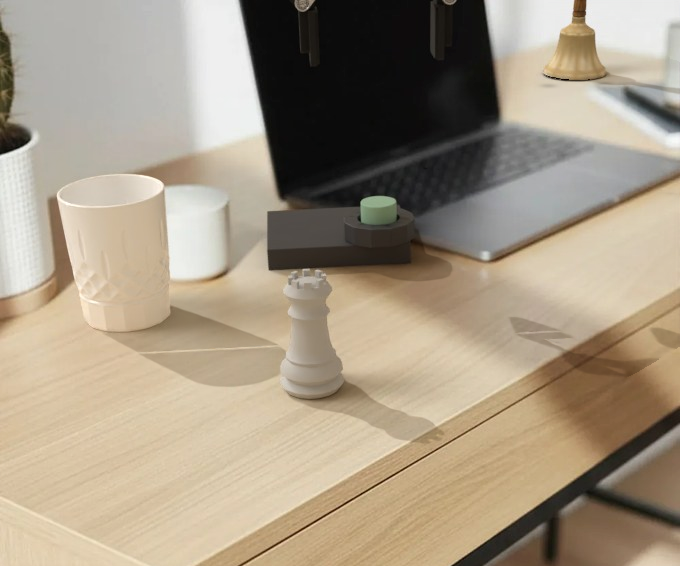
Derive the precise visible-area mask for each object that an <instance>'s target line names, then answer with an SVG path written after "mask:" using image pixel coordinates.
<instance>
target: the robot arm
mask: <svg viewBox="0 0 680 566" xmlns="http://www.w3.org/2000/svg"><path fill="white" fill-rule="evenodd" d="M288 1H289V2H290V3H291V4H292V5H293V6H294V7H295V9H297V11H298V28H299V29H298V30H299V48H300V54H308V56H309V65H310V67H318V65H321V55H320V31H319V29H320V28H319V12H318V8H317V6H316V5H315V1H316V0H288ZM456 2H457V0H431V1H430V23H429V24H430V30H429V31H430V33H429V34H430V36H429V37H430V39H429V40H430V45H429V46H430V47H429V49H430V53H431V55H432V56H433V59H436V61H444V60H445V47H452V45H453V15H454V14H453V9H454V7H453V6H454V4H455V3H456Z"/></svg>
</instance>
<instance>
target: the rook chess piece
mask: <svg viewBox="0 0 680 566" xmlns="http://www.w3.org/2000/svg"><path fill="white" fill-rule="evenodd" d="M301 270H302V275H299V271H298V270H294V271H291V272H290V275H287V283H286V284H285V286H284V287H283V289H282V294H283V295H284V296H285V297H286V298H287V300H289V304H290V307H289V308H288V309H287V315H288V316H289V317H290V322H291V327H290V339H289V346H288V348H287V351H286V352H285V357H284V359H282V361H281V362H280V366H279V370H280V371H279V372H280V374H281V375H282V376H281V377H280V378H279V384H280V386H281V387H282V388H283V389H284V391H285V392H286V393H287V394H289V395H290V396H292V397H295V398H297V399H305V400H317V399H323V398H326V397H330V396H332V395H333V394H335V393H337V392H338V390H339V389H340V388H341V387H342V385H343V384H344V383H345V375H344V374H343V373H342V372H343V370H344V367H343V362H342V359H341V358H340V356H338V355H337V350H336V349H335V348H334V347H333V345H332V341H331V337H330V332H329V331H330V330H329V327H328V315H329V313H330V312H331V309H330V307H329V306H328V305H327V299H328V298H329V296H330V295H331V294H332V292H333V286H332V285H331V284H330V283H329V282H328V281H327V274H326V273H323V270H320V269H315V270H314V275H312V274H311V268H308V269H301Z"/></svg>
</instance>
